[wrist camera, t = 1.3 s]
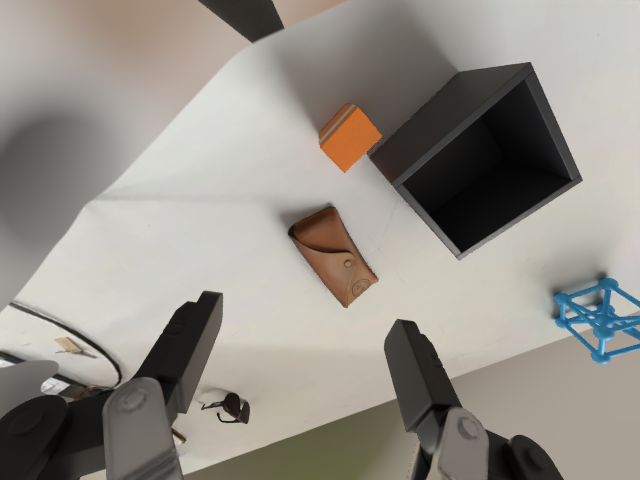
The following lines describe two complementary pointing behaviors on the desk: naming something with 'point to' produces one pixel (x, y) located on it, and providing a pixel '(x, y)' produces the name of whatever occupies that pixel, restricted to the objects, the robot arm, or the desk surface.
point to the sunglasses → (233, 408)
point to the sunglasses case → (333, 255)
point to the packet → (348, 136)
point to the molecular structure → (600, 319)
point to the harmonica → (177, 437)
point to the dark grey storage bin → (479, 156)
